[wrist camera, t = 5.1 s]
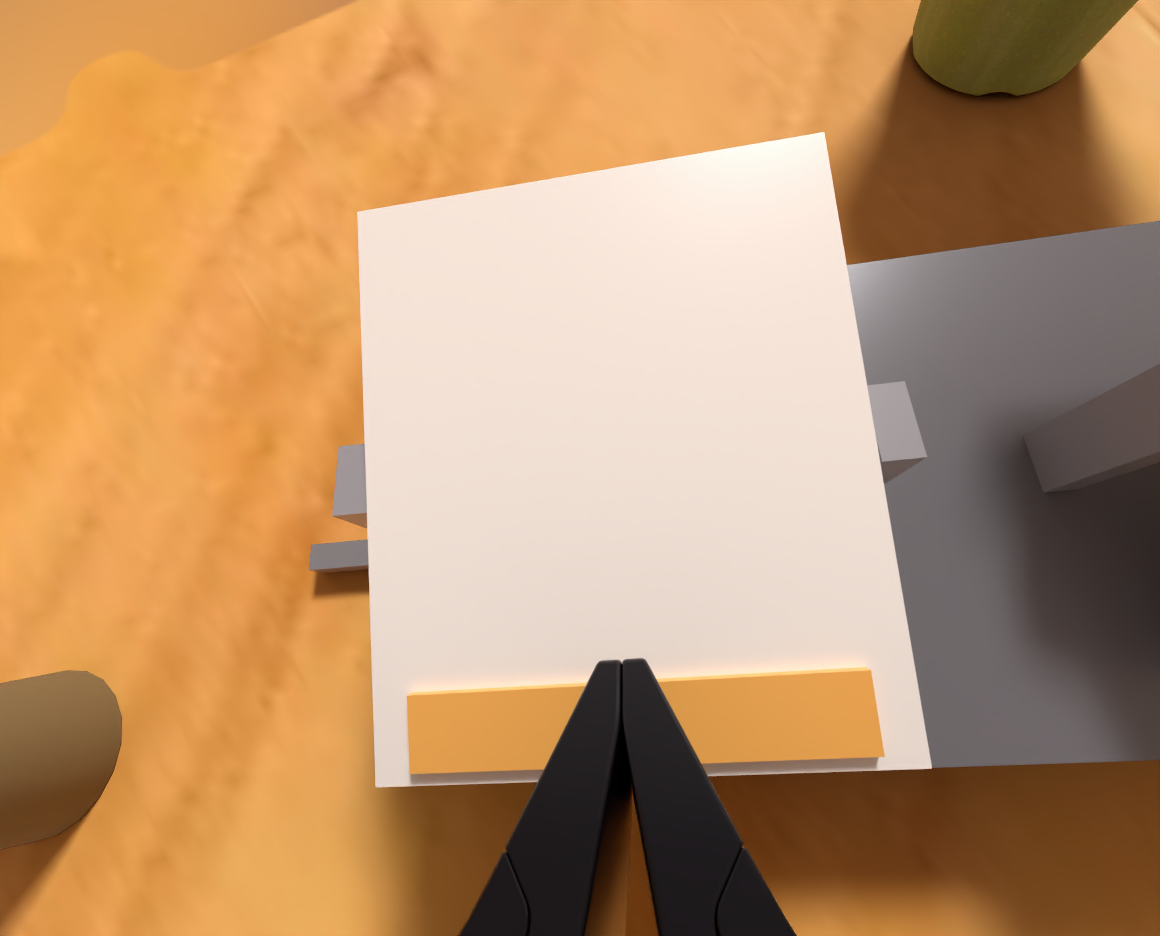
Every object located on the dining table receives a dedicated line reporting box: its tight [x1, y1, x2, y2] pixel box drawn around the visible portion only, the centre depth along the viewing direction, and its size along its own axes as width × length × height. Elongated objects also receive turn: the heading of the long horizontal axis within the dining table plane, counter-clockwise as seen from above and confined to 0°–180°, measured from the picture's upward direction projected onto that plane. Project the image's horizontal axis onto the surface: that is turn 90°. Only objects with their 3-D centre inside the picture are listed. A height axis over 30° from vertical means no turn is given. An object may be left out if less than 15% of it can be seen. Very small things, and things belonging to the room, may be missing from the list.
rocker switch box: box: [309, 221, 1160, 768], centre depth 14 cm, size 14×36×10 cm, turn 94°
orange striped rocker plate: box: [357, 132, 932, 787], centre depth 11 cm, size 12×10×2 cm
